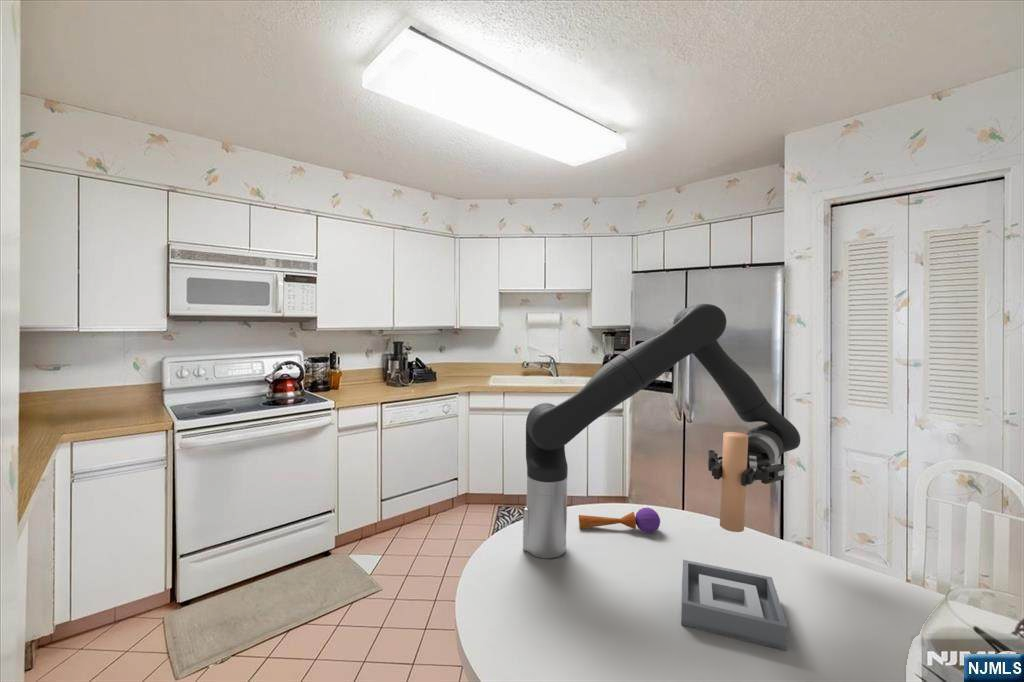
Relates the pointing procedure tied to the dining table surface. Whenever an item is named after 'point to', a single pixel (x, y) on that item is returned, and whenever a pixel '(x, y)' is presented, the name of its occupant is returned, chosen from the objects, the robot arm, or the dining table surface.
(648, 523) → the kendama
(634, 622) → the dining table surface
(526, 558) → the dining table surface
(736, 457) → the peg
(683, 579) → the box
